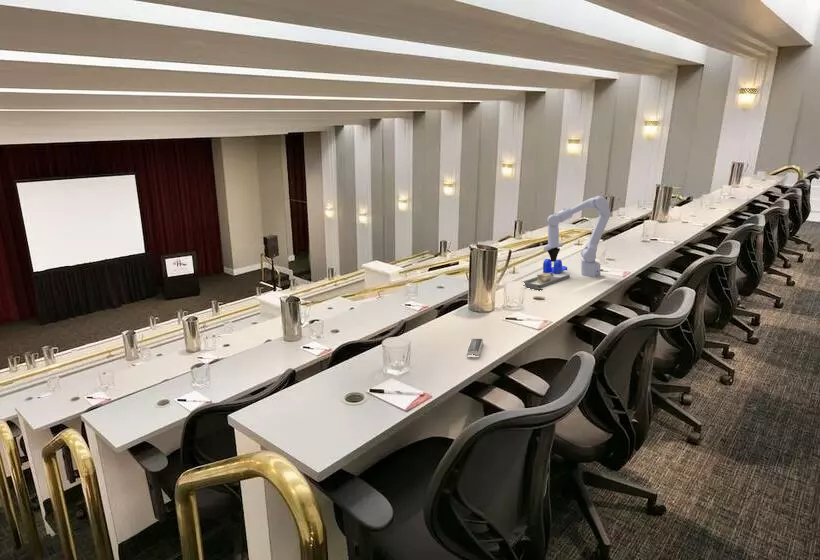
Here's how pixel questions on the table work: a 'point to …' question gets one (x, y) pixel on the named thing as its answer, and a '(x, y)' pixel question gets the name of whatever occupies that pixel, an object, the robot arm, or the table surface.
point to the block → (543, 277)
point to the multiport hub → (474, 347)
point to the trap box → (553, 280)
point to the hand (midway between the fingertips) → (553, 261)
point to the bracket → (556, 269)
